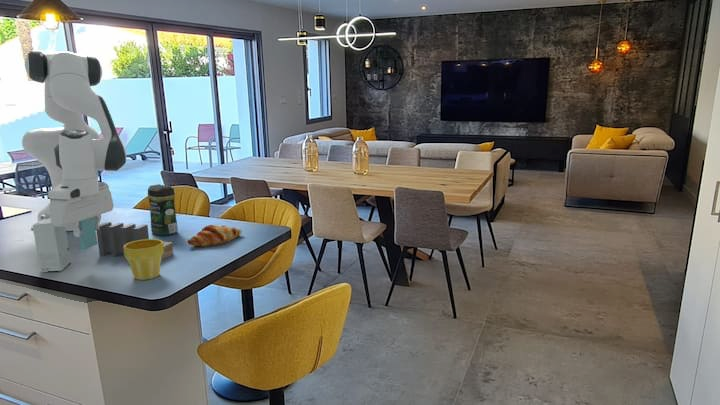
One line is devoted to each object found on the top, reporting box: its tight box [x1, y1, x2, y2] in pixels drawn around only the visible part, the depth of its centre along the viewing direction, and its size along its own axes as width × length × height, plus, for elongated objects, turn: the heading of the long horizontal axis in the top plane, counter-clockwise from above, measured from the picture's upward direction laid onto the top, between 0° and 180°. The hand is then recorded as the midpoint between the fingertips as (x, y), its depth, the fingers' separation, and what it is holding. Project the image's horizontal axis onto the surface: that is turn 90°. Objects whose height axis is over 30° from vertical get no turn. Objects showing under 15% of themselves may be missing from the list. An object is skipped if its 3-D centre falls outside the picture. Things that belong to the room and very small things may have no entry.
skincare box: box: [32, 218, 72, 273], centre depth 140 cm, size 8×6×15 cm
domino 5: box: [133, 223, 150, 241], centre depth 152 cm, size 2×5×10 cm, turn 168°
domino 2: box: [96, 221, 113, 257], centre depth 154 cm, size 2×5×10 cm, turn 168°
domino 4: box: [121, 223, 137, 259], centre depth 152 cm, size 2×5×10 cm, turn 168°
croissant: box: [187, 224, 243, 248], centre depth 168 cm, size 21×10×8 cm, turn 139°
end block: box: [161, 241, 174, 261], centre depth 151 cm, size 4×8×4 cm, turn 168°
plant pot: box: [123, 238, 164, 281], centre depth 135 cm, size 10×10×10 cm
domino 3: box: [108, 222, 125, 258], centre depth 153 cm, size 2×5×10 cm, turn 168°
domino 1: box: [77, 217, 98, 250], centre depth 138 cm, size 2×5×10 cm, turn 168°
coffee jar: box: [147, 184, 179, 237], centre depth 176 cm, size 10×8×19 cm
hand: (87, 233), depth 138 cm, fingers closed on domino 1, 5 cm apart
